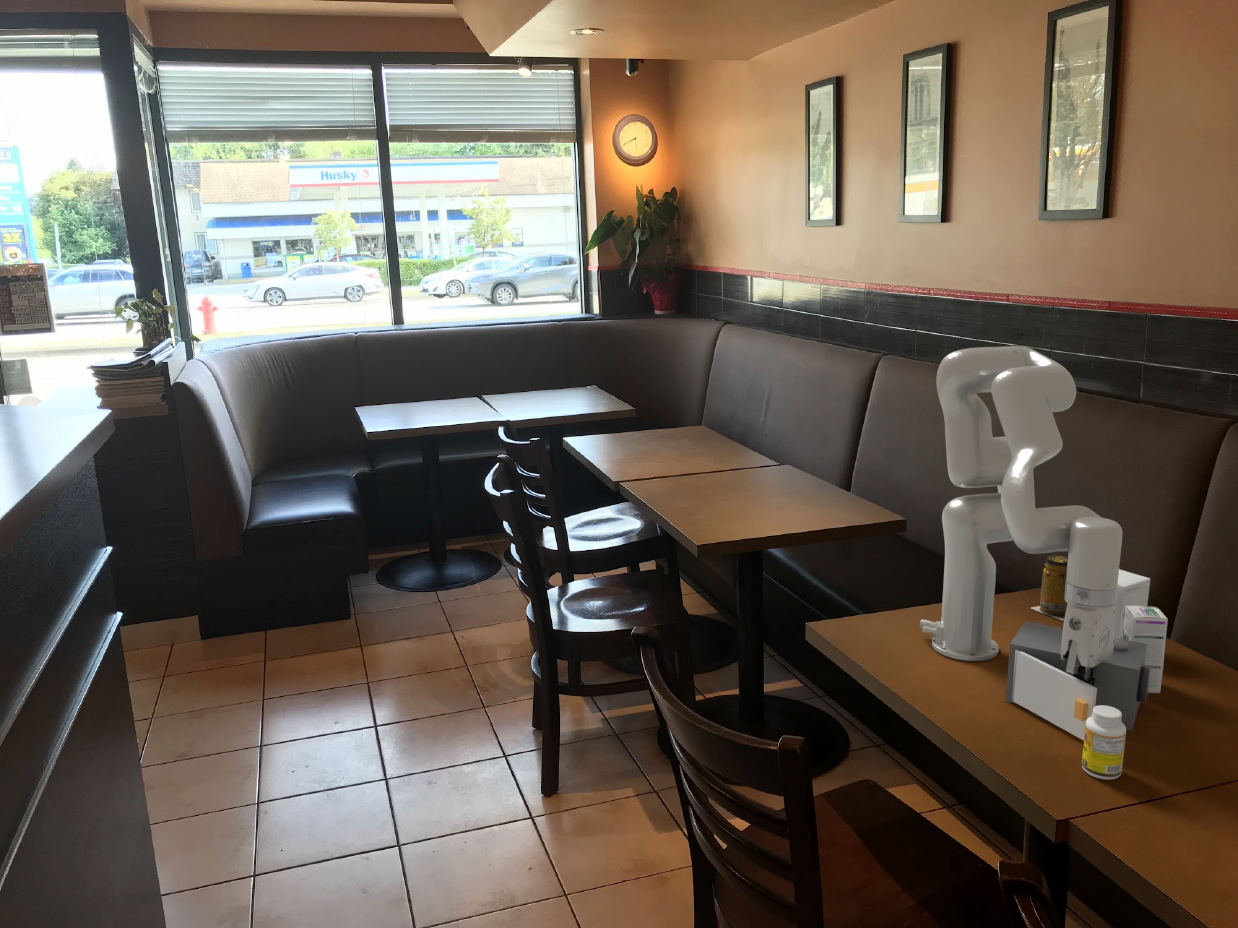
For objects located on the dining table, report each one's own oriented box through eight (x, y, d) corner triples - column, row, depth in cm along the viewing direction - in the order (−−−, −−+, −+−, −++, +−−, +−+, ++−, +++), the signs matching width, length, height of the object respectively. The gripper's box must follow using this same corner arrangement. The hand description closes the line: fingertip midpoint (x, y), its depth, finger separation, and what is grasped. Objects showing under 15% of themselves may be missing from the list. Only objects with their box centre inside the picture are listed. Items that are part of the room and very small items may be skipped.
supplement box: (1116, 659, 188) (1124, 586, 184) (1074, 643, 195) (1081, 573, 192) (1144, 649, 192) (1152, 577, 189) (1102, 634, 200) (1109, 565, 196)
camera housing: (1005, 701, 172) (1010, 638, 169) (1020, 675, 182) (1025, 615, 179) (1139, 732, 160) (1147, 665, 158) (1147, 703, 170) (1155, 640, 167)
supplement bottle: (1086, 758, 153) (1093, 698, 151) (1125, 769, 150) (1132, 709, 147) (1076, 773, 149) (1082, 712, 147) (1115, 785, 145) (1122, 723, 143)
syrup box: (1161, 693, 174) (1170, 618, 170) (1125, 691, 175) (1134, 616, 172) (1151, 679, 179) (1159, 606, 176) (1116, 677, 180) (1124, 604, 177)
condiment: (1053, 603, 217) (1057, 552, 214) (1085, 615, 209) (1091, 563, 207) (1029, 608, 214) (1034, 557, 211) (1061, 622, 206) (1066, 568, 204)
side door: (1006, 700, 170) (1010, 651, 168) (1014, 698, 171) (1018, 649, 169) (1083, 744, 156) (1088, 690, 154) (1091, 741, 156) (1097, 687, 154)
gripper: (1094, 611, 150) (1084, 720, 153) (1133, 588, 159) (1123, 691, 163) (1046, 599, 155) (1037, 704, 159) (1087, 577, 165) (1078, 677, 169)
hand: (1081, 697), depth 161 cm, fingers closed
